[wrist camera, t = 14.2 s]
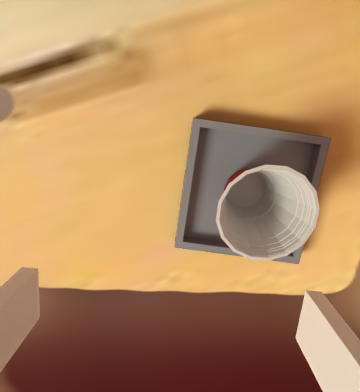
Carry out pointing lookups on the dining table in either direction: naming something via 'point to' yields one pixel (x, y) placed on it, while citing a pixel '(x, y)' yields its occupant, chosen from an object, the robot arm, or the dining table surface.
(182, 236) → the tray
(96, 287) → the dining table surface
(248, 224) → the plastic cup
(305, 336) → the robot arm
